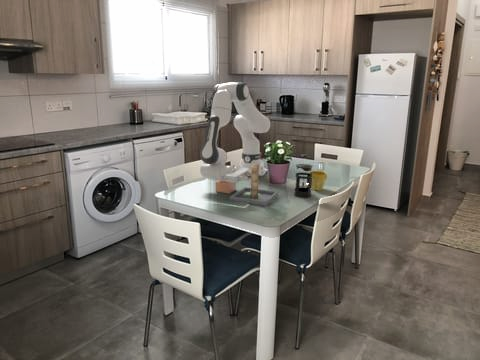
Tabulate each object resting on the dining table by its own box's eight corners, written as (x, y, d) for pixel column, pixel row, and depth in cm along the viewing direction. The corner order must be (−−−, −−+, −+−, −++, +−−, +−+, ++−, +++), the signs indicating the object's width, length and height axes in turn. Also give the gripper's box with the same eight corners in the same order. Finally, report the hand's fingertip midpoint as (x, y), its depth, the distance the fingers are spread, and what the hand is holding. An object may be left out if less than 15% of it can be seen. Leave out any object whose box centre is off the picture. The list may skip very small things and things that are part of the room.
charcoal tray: (244, 191, 226) (244, 186, 225) (277, 196, 218) (278, 191, 217) (229, 201, 208) (229, 196, 207) (265, 206, 200) (265, 202, 200)
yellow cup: (323, 186, 238) (324, 170, 236) (327, 191, 228) (329, 175, 226) (306, 186, 238) (307, 170, 235) (309, 191, 228) (311, 174, 225)
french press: (302, 199, 213) (305, 157, 207) (289, 195, 220) (291, 154, 214) (316, 195, 221) (319, 154, 215) (303, 191, 228) (305, 151, 222)
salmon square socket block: (222, 188, 229) (222, 178, 228) (235, 190, 226) (235, 180, 224) (215, 192, 222) (215, 182, 220) (229, 194, 219) (229, 184, 217)
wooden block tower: (252, 195, 215) (253, 163, 211) (259, 196, 214) (260, 164, 209) (249, 197, 212) (250, 165, 207) (256, 198, 210) (257, 166, 206)
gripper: (219, 172, 206) (244, 175, 201) (235, 164, 224) (258, 167, 219) (219, 184, 208) (243, 187, 202) (235, 175, 226) (258, 178, 220)
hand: (251, 176), depth 211 cm, fingers open, 8 cm apart
